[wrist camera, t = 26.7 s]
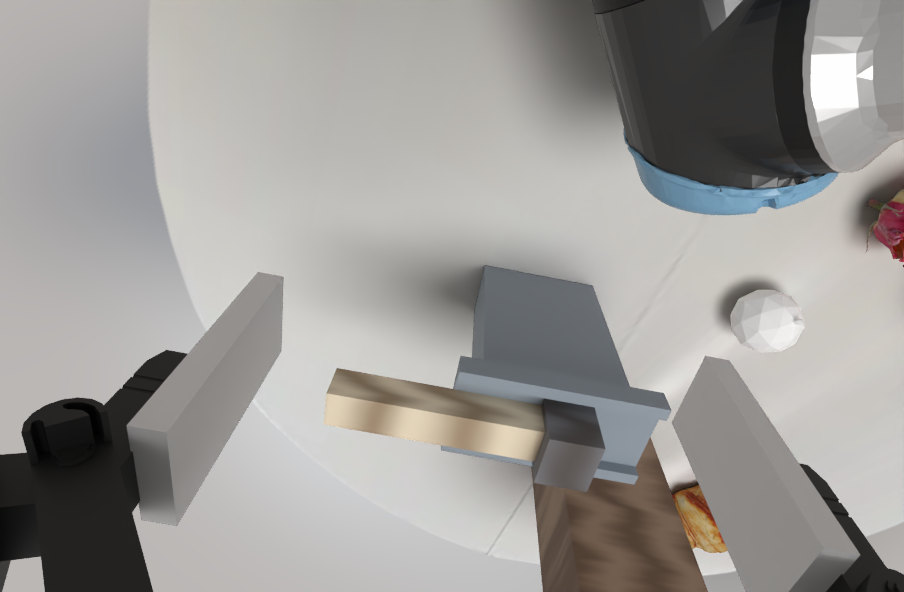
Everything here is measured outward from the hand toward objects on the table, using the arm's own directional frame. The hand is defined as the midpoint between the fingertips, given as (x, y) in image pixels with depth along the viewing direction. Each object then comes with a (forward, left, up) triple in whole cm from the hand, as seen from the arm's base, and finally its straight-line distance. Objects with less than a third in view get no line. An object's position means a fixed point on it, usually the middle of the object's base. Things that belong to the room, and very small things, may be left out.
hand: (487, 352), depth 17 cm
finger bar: (+6, -17, -19) cm, 26 cm away
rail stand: (+13, -15, -39) cm, 44 cm away
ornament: (+35, -5, -39) cm, 53 cm away
